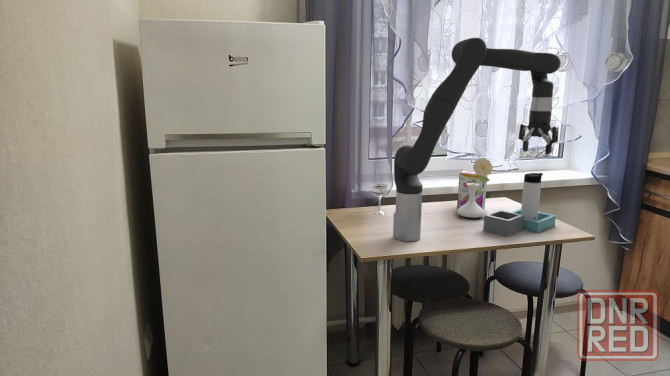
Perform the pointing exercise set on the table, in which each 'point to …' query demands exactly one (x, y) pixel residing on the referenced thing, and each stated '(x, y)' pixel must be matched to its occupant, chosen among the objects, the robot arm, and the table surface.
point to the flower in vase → (471, 207)
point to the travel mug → (531, 196)
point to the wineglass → (379, 193)
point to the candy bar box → (464, 190)
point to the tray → (538, 222)
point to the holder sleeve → (503, 222)
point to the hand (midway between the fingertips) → (536, 152)
